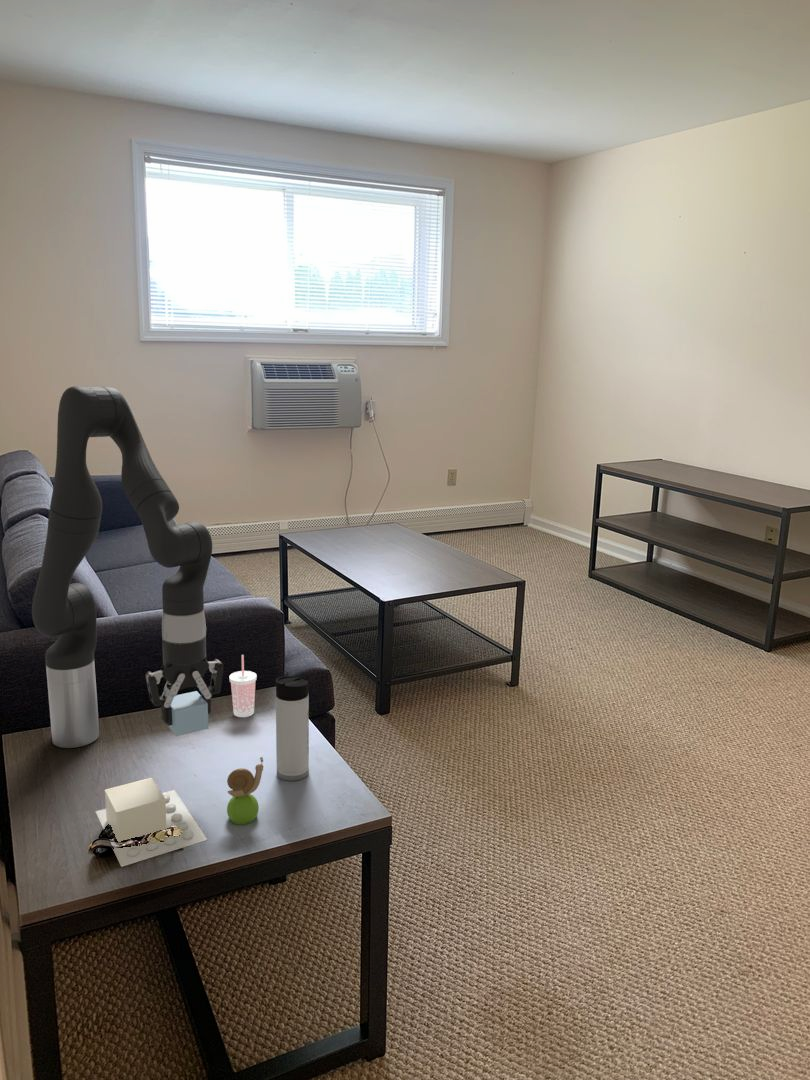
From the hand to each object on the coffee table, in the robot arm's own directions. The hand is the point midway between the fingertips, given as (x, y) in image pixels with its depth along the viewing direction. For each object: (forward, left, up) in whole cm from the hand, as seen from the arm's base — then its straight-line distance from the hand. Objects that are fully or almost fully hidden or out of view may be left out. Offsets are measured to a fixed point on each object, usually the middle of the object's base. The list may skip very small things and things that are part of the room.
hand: (186, 719), depth 147 cm
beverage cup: (-26, +21, -15) cm, 36 cm away
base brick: (+8, -12, -13) cm, 20 cm away
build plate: (+9, -10, -14) cm, 20 cm away
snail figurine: (+15, +5, -15) cm, 22 cm away
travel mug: (+4, +19, -15) cm, 24 cm away
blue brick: (0, 0, -1) cm, 1 cm away
